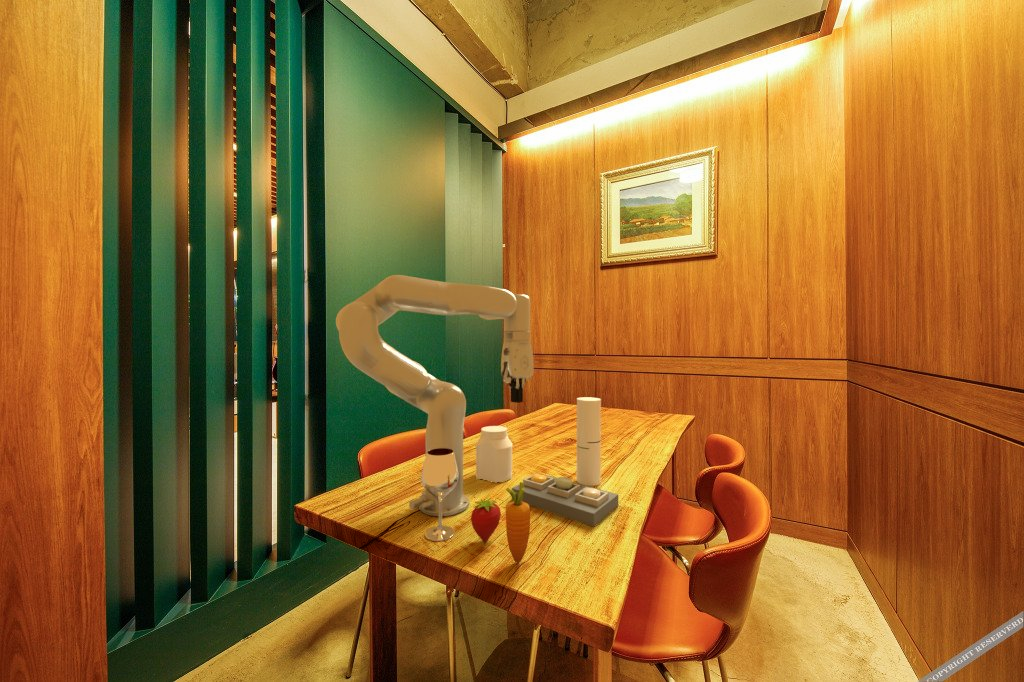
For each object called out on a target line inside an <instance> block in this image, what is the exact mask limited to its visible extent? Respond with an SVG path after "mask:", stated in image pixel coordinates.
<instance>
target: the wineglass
mask: <svg viewBox="0 0 1024 682" xmlns="http://www.w3.org/2000/svg"><path fill="white" fill-rule="evenodd" d="M420 477H421V478H420V482H421V485H422V486H423V488H424V490H425V489H426V490H427V491H428V492H429V493H430V494H431V495H433V496H434V497H435V498H436V499H437V500H438V516H437V519H438V521H437V522H438V523H437V525H435V526H432V527H430V528H428V529H427V530H425V533H424V537H425V538H426V539H427V540H428V541H431V542H444V541H446V540H449V539H451V538H452V537H453V536H454V535H455V529H454V528H453V527H451V526H449V525H443V516H442V501H443V499H444V498H445V496H446V495H448V494H449V493H450V492H451V491H452V490H453V489H454V488H455V486H456V485H457V483H458V480H459V471H458V466H457V462H456V458H455V455H454V451H453V450H452V449H448V448H437V449H432V450H429V451H428V452H427V455H426V454H425V458H424V463H423V467H422V471H421V475H420Z"/></svg>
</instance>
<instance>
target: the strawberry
mask: <svg viewBox="0 0 1024 682" xmlns="http://www.w3.org/2000/svg"><path fill="white" fill-rule="evenodd" d="M489 496H490V495H489V494H488V495H487V496H486V497H485V498H484V500H482V499H481V500H480V501H474V503H476V504H477V505H475V506H474V509H473V510H472V512H471V516H470V521H471V525H472V528H473V530H474V532H475V533H476V535H477V536H478V537H479V538H480V539H481V541H482V542H483V543H487V542H488V541H489V540H490V538H491V536H492V535H493V534H494V533H495V530H496V529H497V528H498V526H499V524H500V520H501V516H502V513H501V512H502V511H501V508H500V506H499V505H498V504H496V503H497V501H496V500H495V501H493V500H491V498H488V497H489ZM487 498H488V499H487ZM486 499H487V500H486Z"/></svg>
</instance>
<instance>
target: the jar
mask: <svg viewBox="0 0 1024 682" xmlns="http://www.w3.org/2000/svg"><path fill="white" fill-rule="evenodd" d="M475 457H476V458H475V478H477V479H483V480H482V481H484V480H488V481H487V482H489V481H492V482H495V483H494V484H498V483H497V482H502V483H505V482H504V481H506V482H508V481H510V480H512V478H513V442H512V441H511V440H510V438H509V436H508V428H507V427H505V426H501V425H489V426H484V427H481V429H480V438H479V439H478V440H477V442H476V443H475ZM477 479H476V480H477ZM509 479H510V480H509ZM507 480H508V481H507ZM492 482H491V483H492Z"/></svg>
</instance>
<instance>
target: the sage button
mask: <svg viewBox="0 0 1024 682" xmlns="http://www.w3.org/2000/svg"><path fill="white" fill-rule="evenodd" d="M555 478H556V487H558V488H561V489H569V488H571V487H572V482H573V479H572V478H570V477H568V476H560V477H555Z"/></svg>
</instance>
